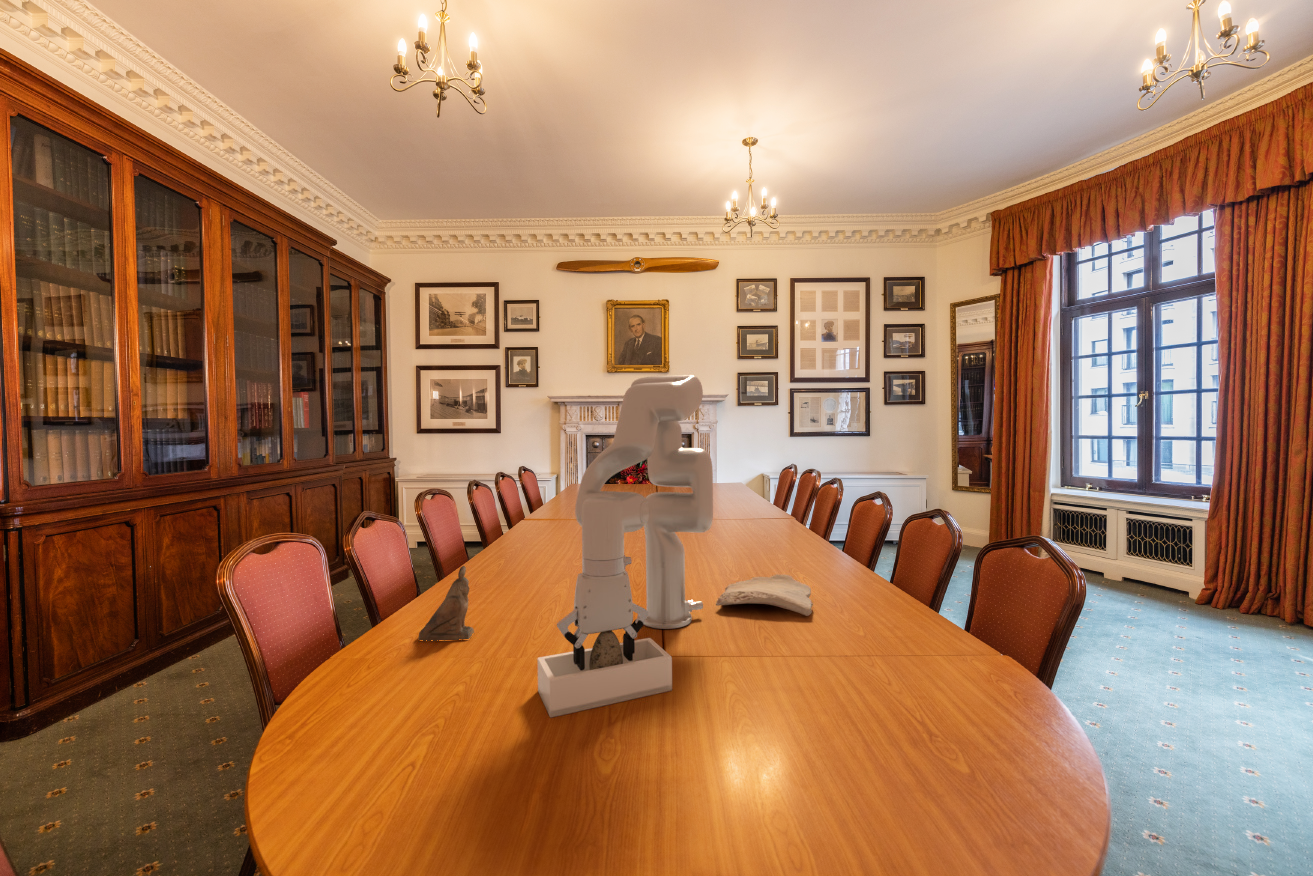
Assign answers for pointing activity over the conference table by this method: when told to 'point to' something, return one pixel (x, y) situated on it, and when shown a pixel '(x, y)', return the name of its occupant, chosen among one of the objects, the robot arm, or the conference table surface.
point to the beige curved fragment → (770, 593)
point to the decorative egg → (606, 651)
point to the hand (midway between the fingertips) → (604, 662)
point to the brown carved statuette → (450, 614)
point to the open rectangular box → (602, 679)
